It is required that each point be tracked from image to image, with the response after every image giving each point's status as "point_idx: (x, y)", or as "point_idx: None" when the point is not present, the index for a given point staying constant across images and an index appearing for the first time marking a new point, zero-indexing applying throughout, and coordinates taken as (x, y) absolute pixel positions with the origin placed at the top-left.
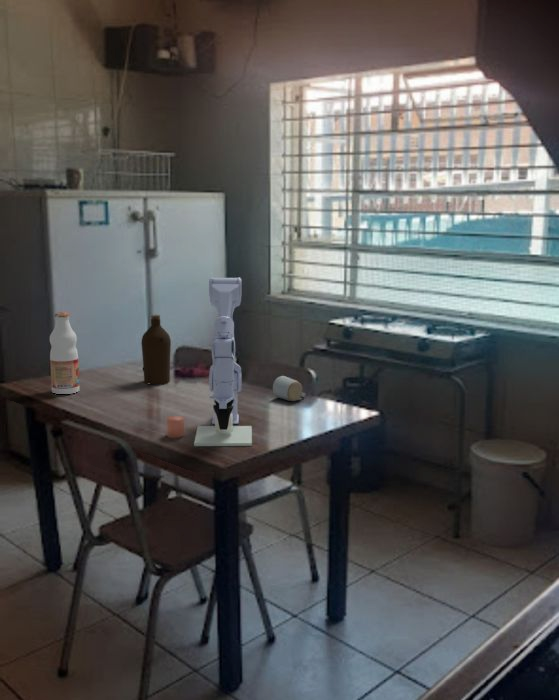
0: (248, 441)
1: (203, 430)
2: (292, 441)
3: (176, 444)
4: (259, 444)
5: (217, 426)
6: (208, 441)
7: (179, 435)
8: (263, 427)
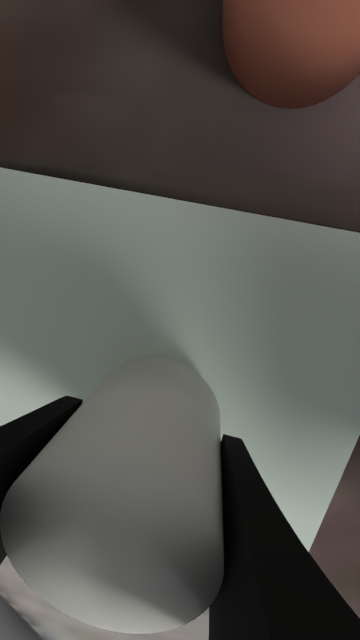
0: None
1: (289, 279)
2: (55, 635)
3: (48, 21)
4: None
5: (95, 391)
6: (23, 278)
7: (227, 42)
8: None
